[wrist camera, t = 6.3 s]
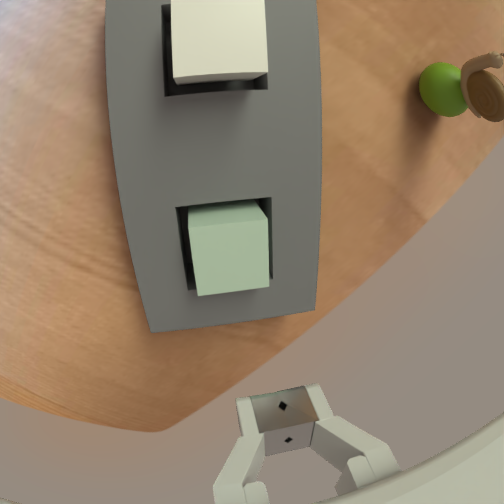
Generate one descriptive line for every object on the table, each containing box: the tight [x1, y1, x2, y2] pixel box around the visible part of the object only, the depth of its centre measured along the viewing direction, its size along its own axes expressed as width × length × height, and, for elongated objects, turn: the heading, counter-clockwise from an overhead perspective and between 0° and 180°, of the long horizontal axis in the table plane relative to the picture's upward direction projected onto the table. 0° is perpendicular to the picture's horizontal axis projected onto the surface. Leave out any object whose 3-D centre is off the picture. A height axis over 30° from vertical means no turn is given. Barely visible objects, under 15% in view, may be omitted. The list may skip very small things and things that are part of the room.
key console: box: [105, 0, 322, 333], centre depth 22 cm, size 14×28×5 cm, turn 3°
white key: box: [171, 0, 268, 85], centre depth 16 cm, size 5×5×5 cm
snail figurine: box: [419, 51, 504, 122], centre depth 19 cm, size 5×6×12 cm
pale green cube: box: [188, 199, 269, 296], centre depth 23 cm, size 5×5×5 cm
